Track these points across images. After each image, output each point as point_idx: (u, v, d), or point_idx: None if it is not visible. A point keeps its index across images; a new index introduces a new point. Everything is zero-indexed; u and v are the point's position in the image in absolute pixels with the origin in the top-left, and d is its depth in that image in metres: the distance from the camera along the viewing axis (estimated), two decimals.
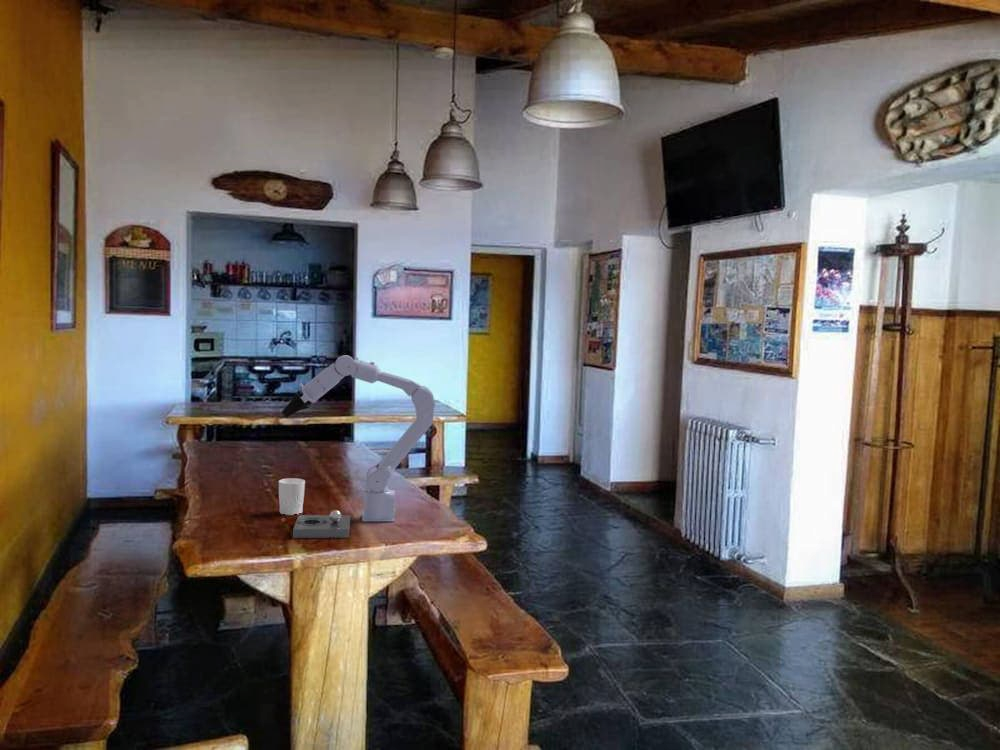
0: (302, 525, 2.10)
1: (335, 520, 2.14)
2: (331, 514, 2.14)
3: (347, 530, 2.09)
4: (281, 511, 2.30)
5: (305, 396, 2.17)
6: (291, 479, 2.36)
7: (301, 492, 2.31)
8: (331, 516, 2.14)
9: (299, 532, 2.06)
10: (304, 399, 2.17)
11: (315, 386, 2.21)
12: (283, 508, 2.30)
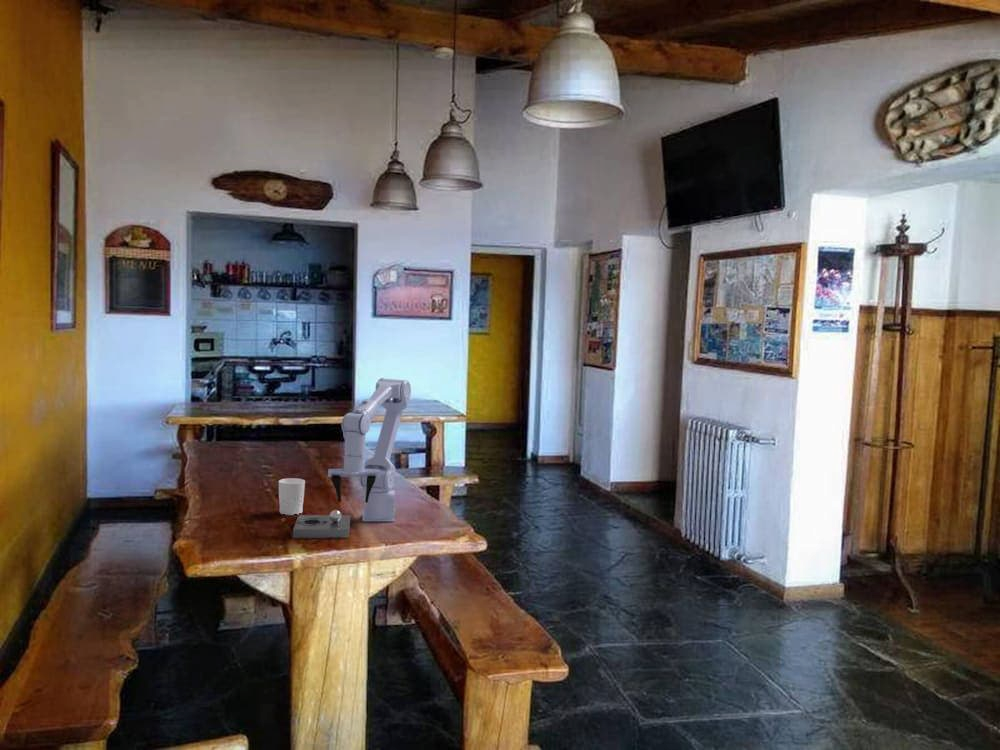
0: (302, 525, 2.10)
1: (335, 520, 2.14)
2: (331, 514, 2.14)
3: (347, 530, 2.09)
4: (281, 511, 2.30)
5: (379, 472, 2.16)
6: (291, 479, 2.36)
7: (301, 492, 2.31)
8: (331, 516, 2.14)
9: (299, 532, 2.06)
10: None
11: (364, 460, 2.15)
12: (283, 508, 2.29)
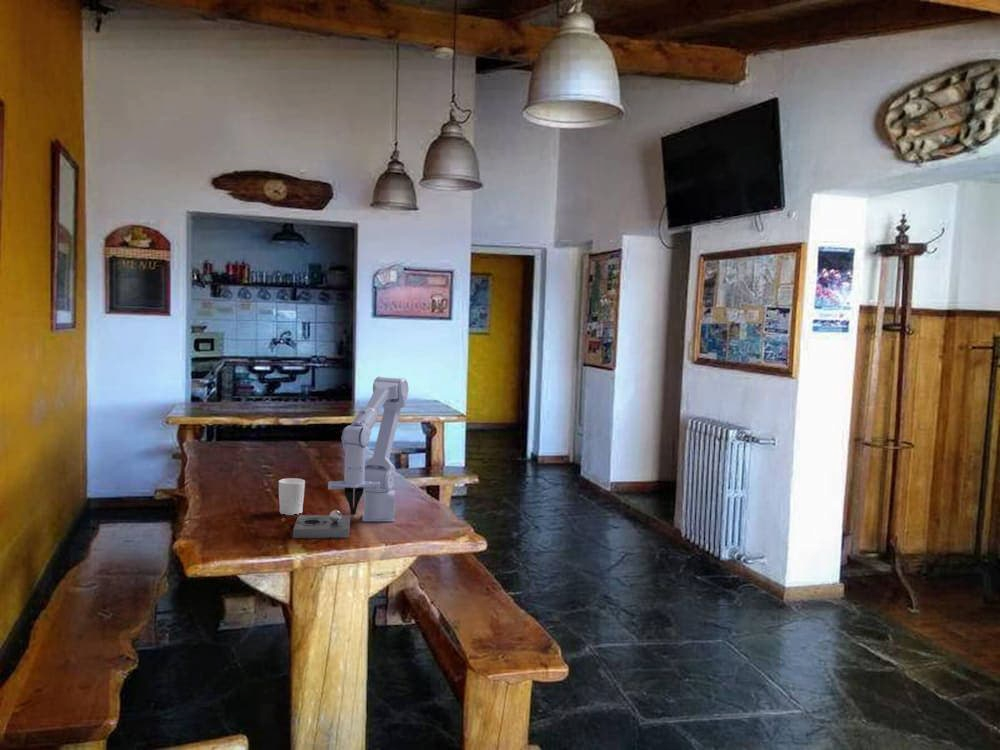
0: (302, 525, 2.10)
1: (335, 520, 2.14)
2: (331, 514, 2.14)
3: (347, 530, 2.09)
4: (281, 511, 2.30)
5: (379, 484, 2.16)
6: (291, 479, 2.36)
7: (301, 492, 2.31)
8: (331, 516, 2.14)
9: (299, 532, 2.06)
10: None
11: (364, 473, 2.15)
12: (283, 508, 2.30)
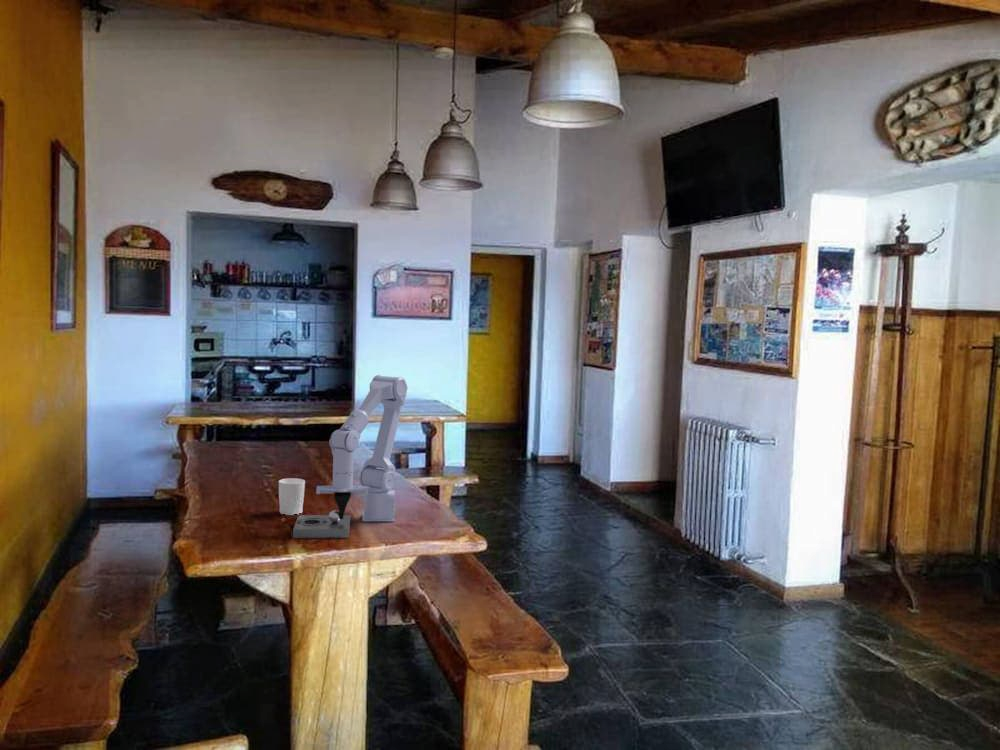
0: (302, 525, 2.10)
1: (335, 520, 2.14)
2: (330, 515, 2.14)
3: (347, 530, 2.09)
4: (281, 511, 2.30)
5: (368, 489, 2.16)
6: (291, 479, 2.36)
7: (301, 492, 2.31)
8: (330, 517, 2.14)
9: (299, 532, 2.06)
10: None
11: (352, 477, 2.15)
12: (283, 508, 2.29)
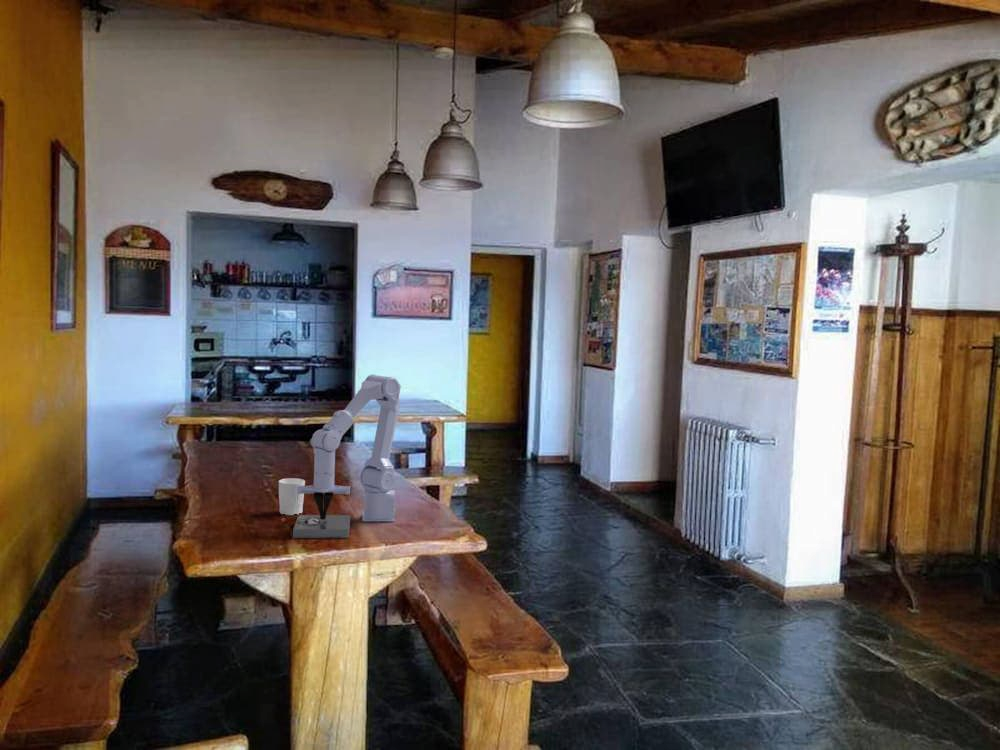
0: (302, 525, 2.10)
1: (312, 520, 2.14)
2: None
3: (347, 530, 2.09)
4: (281, 511, 2.30)
5: (349, 489, 2.15)
6: (291, 479, 2.36)
7: None
8: (317, 521, 2.15)
9: (299, 532, 2.06)
10: None
11: None
12: (283, 508, 2.29)
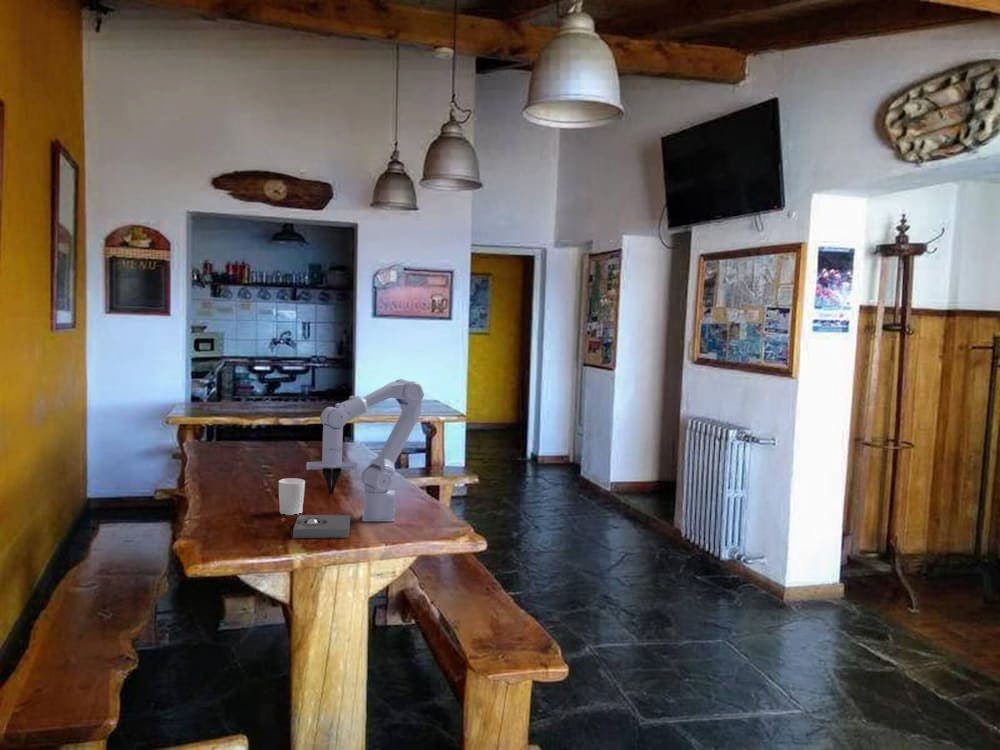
0: (302, 525, 2.10)
1: (311, 521, 2.13)
2: (317, 523, 2.14)
3: (347, 530, 2.09)
4: (281, 511, 2.30)
5: None
6: (291, 479, 2.36)
7: (301, 492, 2.31)
8: (316, 522, 2.14)
9: (299, 532, 2.06)
10: None
11: (341, 453, 2.20)
12: (283, 508, 2.29)
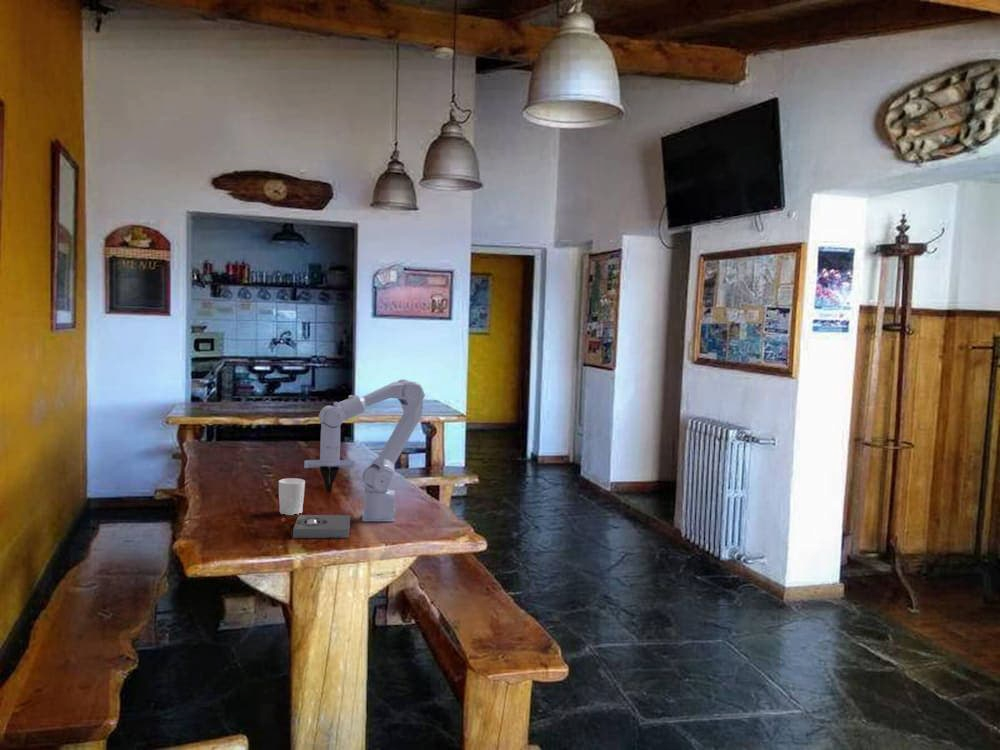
0: (302, 525, 2.10)
1: (310, 522, 2.13)
2: (317, 523, 2.14)
3: (347, 530, 2.09)
4: (281, 511, 2.30)
5: (354, 463, 2.23)
6: (291, 479, 2.36)
7: (301, 492, 2.31)
8: (316, 522, 2.14)
9: (299, 532, 2.06)
10: None
11: (339, 452, 2.21)
12: (283, 508, 2.29)
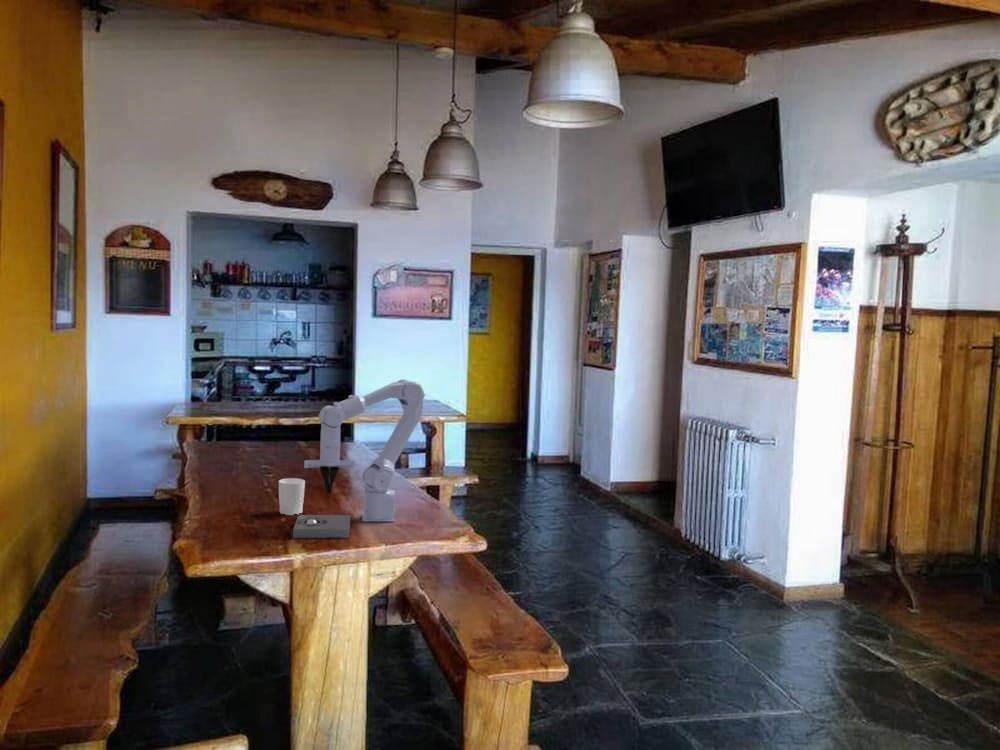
0: (302, 525, 2.10)
1: (310, 523, 2.13)
2: (316, 523, 2.14)
3: (347, 530, 2.09)
4: (281, 511, 2.30)
5: (354, 463, 2.23)
6: (291, 479, 2.36)
7: (301, 492, 2.31)
8: (315, 522, 2.14)
9: (299, 532, 2.06)
10: None
11: (339, 452, 2.21)
12: (283, 508, 2.29)
